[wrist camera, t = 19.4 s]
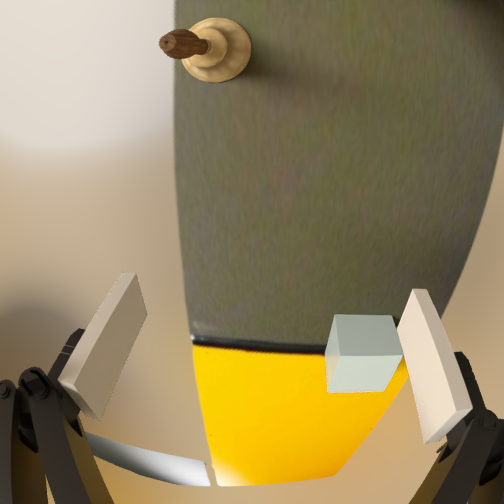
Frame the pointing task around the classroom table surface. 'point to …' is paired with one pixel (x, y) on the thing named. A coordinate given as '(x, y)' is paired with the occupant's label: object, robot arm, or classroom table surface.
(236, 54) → the hand bell
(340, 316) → the rounded gray box
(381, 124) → the classroom table surface
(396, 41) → the classroom table surface
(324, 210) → the classroom table surface
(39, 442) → the robot arm
